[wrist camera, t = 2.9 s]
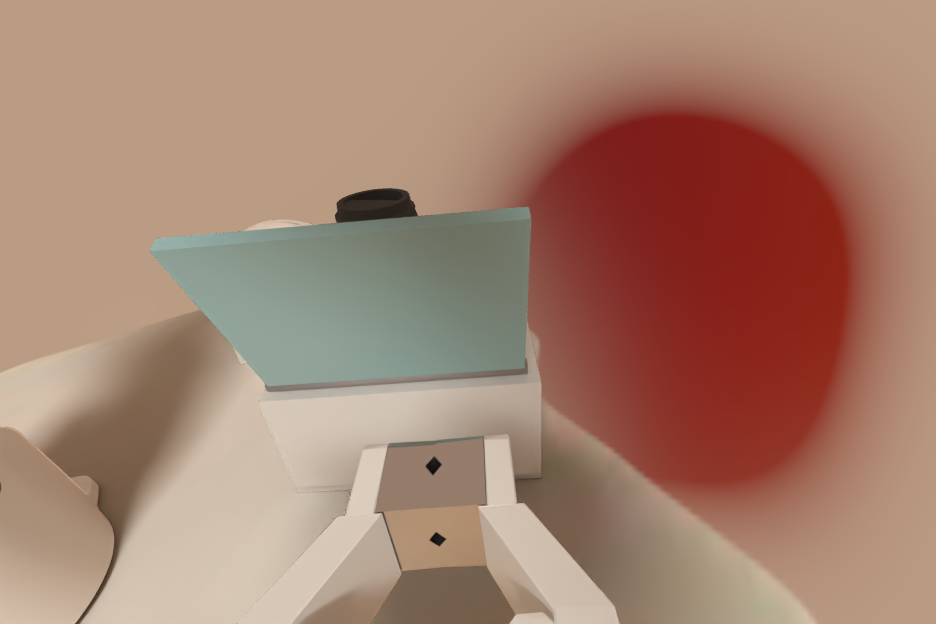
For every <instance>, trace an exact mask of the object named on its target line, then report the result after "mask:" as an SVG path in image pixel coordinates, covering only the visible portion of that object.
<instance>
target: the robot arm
mask: <svg viewBox="0 0 936 624" xmlns="http://www.w3.org/2000/svg"><path fill="white" fill-rule="evenodd" d="M98 494H99V488H98V484H97V483H96V482H95V481H94V480H92V479H91V478H90V477H89V476H86V475H82V476H76V477H71V478H70V477H69V476H68V475H67V474H66V473H64V472H63V471H62V470H61V469H60V468H59V467H58V466H57V465H56V464H55V463H54V462H53V461H52V460H50V459H49V458H48V457H47V456H46V455H45V454H44V453H43V452H42V451H41V450H39V449H38V448H37V447H36V446H35V445H34V444H33V443H32V442H31V441H30V440H28V439H27V438H26V437H25V436H24V435H23V434H22V433H21V432H19V431H18V430H16V429H14V428H11V427H4V428H2V427H0V624H75V623H76V622H77V620H78V619H79V618H80V616H81V615H82V614H83V612H84V611H85V609H86V608H87V607H88V605H89V604H90V602H91V600H92V599H93V597H94V596H95V594H96V592H97V591H98V589H99V587H100V585H101V583H102V581H103V579H104V577H105V575H106V573H107V570H108V568H109V565H110V562H111V558H112V554H113V549H114V533H113V529H112V526H111V524H110V522H109V521H108V519H107V518H106V517H105V516H104V515H103V514H102V513H101V512H100V510H99V509H98V506H97V503H98ZM462 566H487V568H488V570H489V571H490V573H491V575H492V576H493V578H494V580H495V581H496V583H497V585H498V586H499V588H500V589H501V591H502V593H503V594H504V596H505V598H506V599H507V601H508V603H509V604H510V606H511V608H512V609H513V611H514V613H515V614H516V615H515V616H514V618H513V619H512V621H511V622H510V623H509V624H619V620H618V616H617V613H616V609H615V606H614V605H613V604H612V602H611V601H610V600H609V599H608V598H607V597H606V596H605V594H604V593H603V592H602V591H601V590H600V589H599V588H598V586H597V585H596V584H595V583H594V582H593V581H592V580H591V578H590V577H589V576H588V575H587V574H586V573H585V571H584V570H583V569H582V568H581V567H580V566H579V565H578V563H577V562H576V561H575V560H574V559H573V558H572V557H571V555H570V554H569V553H568V552H567V551H566V550H565V549H564V547H563V546H562V545H561V544H560V543H559V542H558V541H557V539H556V538H555V537H554V536H553V535H552V534H551V532H550V531H549V530H548V529H547V528H546V527H545V526H544V524H543V523H542V522H541V521H540V520H539V519H538V518H537V516H536V515H535V514H534V513H533V512H532V511H531V510H530V508H529V507H528V506H527V505H526V504H525V503H517V498H516V490H515V481H514V472H513V464H512V455H511V446H510V438H509V435H508V434H499V435H487V436H475V437H464V438H453V439H442V440H437V441H418V442H400V443H389V444H371V445H366V446H365V448H364V449H363V451H362V454H361V457H360V461H359V465H358V469H357V473H356V476H355V480H354V484H353V488H352V492H351V495H350V499H349V503H348V507H347V511H346V514H345V516H338V517H337V518H336V519H335V520H334V521H333V522H332V523H331V524H330V525H329V526H328V527H327V528H326V529H325V530H324V531H323V533H322V534H321V535H320V536H319V537H318V538H317V539H316V540H315V541H314V542H313V543H312V544H311V545H310V546H309V547H308V549H307V550H306V551H305V552H304V553H303V554H302V555H301V556H300V557H299V558H298V559H297V560H296V561H295V562H294V563H293V565H292V566H291V567H290V568H289V569H288V570H287V571H286V572H285V573H284V574H283V575H282V576H281V577H280V578H279V579H278V581H277V582H276V583H275V584H274V585H273V586H272V587H271V588H270V589H269V590H268V591H267V592H266V593H265V594H264V595H263V597H262V598H261V599H260V600H259V601H258V602H257V603H256V604H255V605H254V606H253V607H252V608H251V609H250V610H249V611H248V613H247V614H246V615H245V616H244V617H243V618H242V619H241V620H240V621H239V622H238V623H237V624H371V623H372V622H373V620H374V618H375V617H376V615H377V613H378V612H379V610H380V609H381V607H382V605H383V604H384V602H385V600H386V599H387V597H388V596H389V594H390V592H391V591H392V589H393V587H394V586H395V584H396V583H397V581H398V579H399V578H400V576H401V571H409V570H419V569H430V568H440V567H462Z"/></svg>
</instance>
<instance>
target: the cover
mask: <svg viewBox="0 0 936 624" xmlns="http://www.w3.org/2000/svg"><path fill="white" fill-rule="evenodd" d="M530 232H531V216H530V211H529V207H521V208H510V209H497V210H485V211H473V212H462V213H451V214H439V215H426V216H414V217H402V218H391V219H379V220H367V221H355V222H344V223H332V224H320V225H308V226H296V227H285V228H273V229H261V230H249V231H238V232H226V233H214V234H202V235H190V236H179V237H167V238H157V239H156V241H155V242H154V244H153V246H152V247H151V249H150V253H151V254H152V255H153V256H154V257H155V258H156V260H157V261H158V262H159V263H160V264H161V265H162V266H163V267H164V269H165V270H166V271H167V272H168V273H169V274H170V276H172V278H173V279H174V280H175V281H176V282H177V284H178V285H179V286H180V287H181V288H182V289H183V290H184V291H185V293H186V294H187V295H188V296H189V297H190V298H191V299H192V301H193V302H194V303H195V304H196V305H197V306H198V307H199V309H200V310H201V311H202V312H203V313H204V314H205V315H206V317H207V318H208V319H209V320H210V321H211V322H212V323H213V325H214V326H215V327H216V328H217V329H218V330H219V331H220V333H221V334H222V335H223V336H224V337H225V338H226V339H227V340H228V342H229V343H230V344H231V345H232V346H233V347H234V348H235V350H236V351H237V352H238V353H239V354H240V355H241V356H242V358H243V359H244V360H245V361H246V362H247V363H248V364H249V366H250V367H251V368H252V369H253V370H254V371H255V372H256V374H257V375H258V376H259V377H260V378H261V379H262V380H263V381H264V383H265V388H266V390H267V392H278V391H292V390H306V389H321V388H335V387H349V386H364V385H378V384H392V383H406V382H421V381H435V380H449V379H464V378H478V377H492V376H507V375H521V374H528V364H527V358H525V349H526V326H527V302H528V279H529V278H528V277H529V256H530Z"/></svg>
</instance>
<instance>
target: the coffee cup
mask: <svg viewBox="0 0 936 624" xmlns="http://www.w3.org/2000/svg"><path fill="white" fill-rule="evenodd" d="M414 216H418V215H417V212H416V210H415V204H414V202H413V201H411V200H410V196H409V193H408V192H407V191H404V190H400V189H392V188H390V189H389V188H387V189H373V190H368V191H362V192H358V193H355V194H352V195H348V196H346V197H344V198H342V199H341V200H339V201H338V202H337V213H336V214H335V219H336V221H337V223H344V222H355V221H367V220H379V219H391V218H402V217H414Z"/></svg>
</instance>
